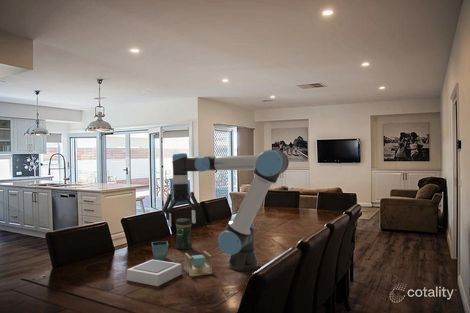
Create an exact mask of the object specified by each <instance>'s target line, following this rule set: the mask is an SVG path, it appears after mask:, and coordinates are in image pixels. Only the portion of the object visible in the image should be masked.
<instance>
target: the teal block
mask: <svg viewBox="0 0 470 313" xmlns="http://www.w3.org/2000/svg"><path fill="white" fill-rule="evenodd" d="M190 257H191V258H192V265H193V266H194V267H197V266H205V257H204V256H203V254H196V255H190Z"/></svg>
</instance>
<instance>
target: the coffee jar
mask: <svg viewBox="0 0 470 313" xmlns="http://www.w3.org/2000/svg"><path fill="white" fill-rule="evenodd" d="M192 224H193V223H192V219H190V218H183V217H181V218H176V220H175V227H176V238H175V248H176V249H179V250H189V249H191V248H192V246H193V243H192V233H191V230H192Z"/></svg>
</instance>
